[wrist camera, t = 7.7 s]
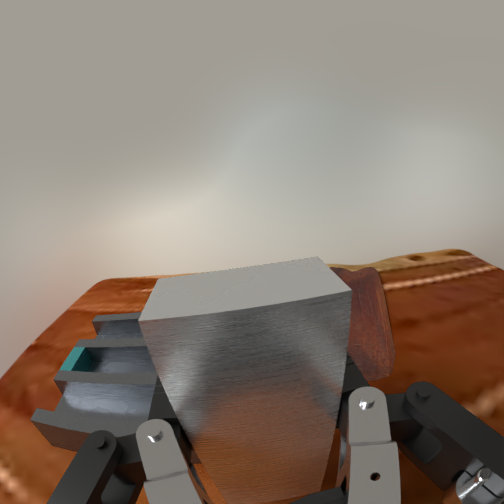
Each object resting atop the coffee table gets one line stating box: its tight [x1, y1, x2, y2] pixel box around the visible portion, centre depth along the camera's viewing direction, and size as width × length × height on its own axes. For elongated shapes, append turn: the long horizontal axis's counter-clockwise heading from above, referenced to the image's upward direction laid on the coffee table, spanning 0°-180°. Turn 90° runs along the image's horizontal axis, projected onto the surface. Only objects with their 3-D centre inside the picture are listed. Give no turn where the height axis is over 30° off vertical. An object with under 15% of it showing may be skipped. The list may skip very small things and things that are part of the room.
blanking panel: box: [138, 257, 352, 504], centre depth 9 cm, size 5×2×13 cm, turn 97°
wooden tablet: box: [330, 267, 395, 381], centre depth 33 cm, size 27×10×2 cm, turn 163°
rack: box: [31, 312, 202, 463], centre depth 22 cm, size 16×18×4 cm
